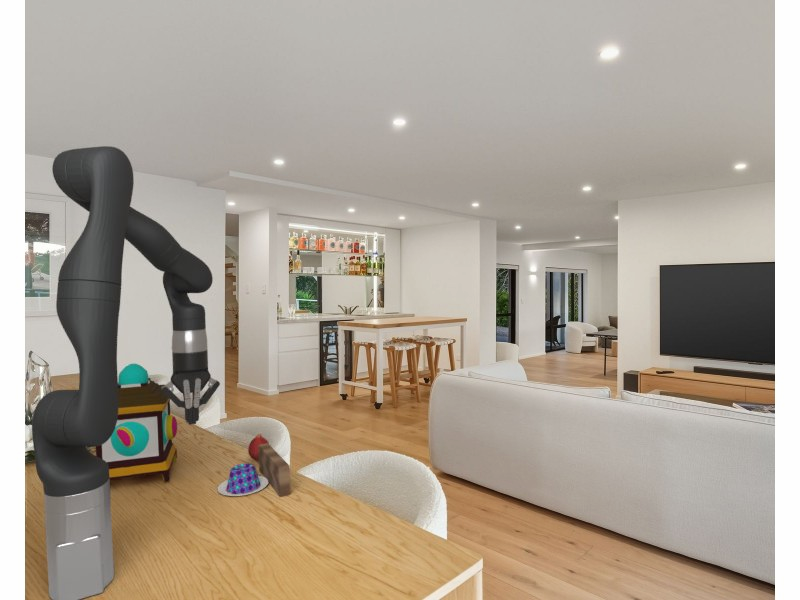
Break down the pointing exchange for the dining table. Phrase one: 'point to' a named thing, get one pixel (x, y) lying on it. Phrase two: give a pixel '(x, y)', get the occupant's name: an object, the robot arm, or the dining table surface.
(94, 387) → the robot arm
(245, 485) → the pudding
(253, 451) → the onion
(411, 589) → the dining table surface
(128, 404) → the decorative lantern
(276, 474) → the walnut board
